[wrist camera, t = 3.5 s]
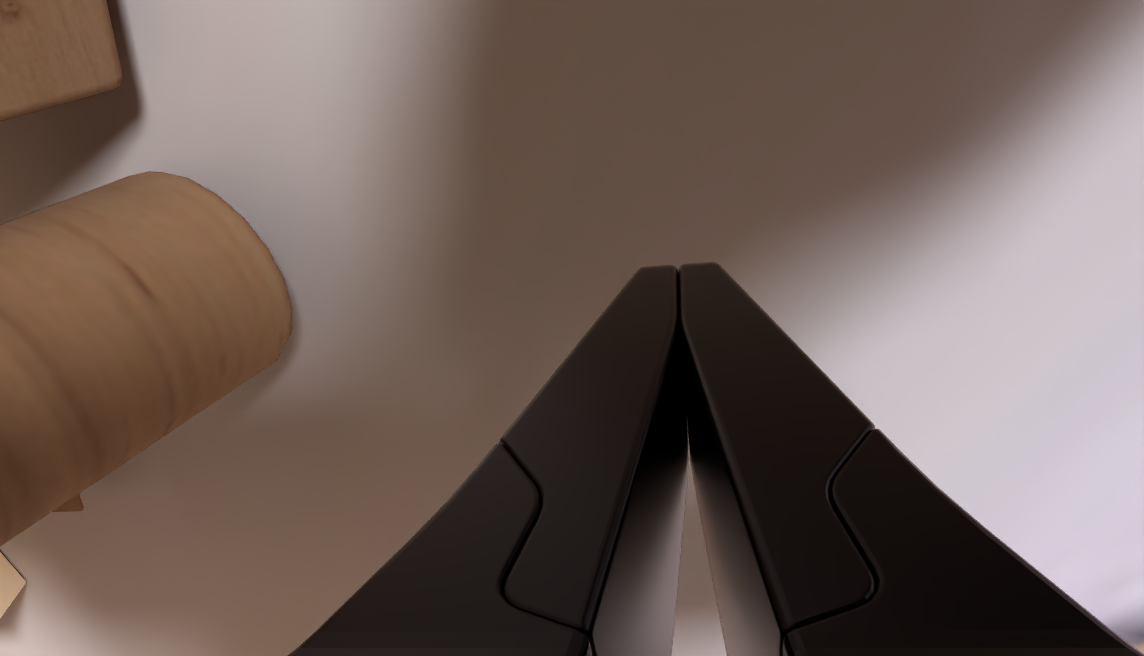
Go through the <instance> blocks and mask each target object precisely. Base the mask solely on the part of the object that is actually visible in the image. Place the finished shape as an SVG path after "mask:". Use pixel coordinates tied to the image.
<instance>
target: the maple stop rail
mask: <svg viewBox="0 0 1144 656" xmlns="http://www.w3.org/2000/svg"><path fill="white" fill-rule="evenodd" d="M25 584H26V581H25V580H24V579H23V578H22V577H21V575H20V574H19V573H18V572H17V571H16V570H15V568H14V567H13V566H12V565H11V564H10V563H9V561H8V560H7V559H6V558H5V557H4V556H3V554H2V553H1V552H0V618H1V617H2V615H3V614H4V613H5V611H6V610H7V609H8V607H9V606H10V604H11V603H12V602H13V600H14V599H15V598H16V596H17V595H18V593H19V592H20V591H21V589H22V588H23V586H24V585H25Z"/></svg>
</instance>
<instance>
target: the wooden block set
mask: <svg viewBox="0 0 1144 656" xmlns="http://www.w3.org/2000/svg"><path fill="white" fill-rule="evenodd" d="M121 80H122V70H121V66H120V61H119V57H118V52H117V47H116V43H115V38H114V34H113V29H112V24H111V20H110V15H109V11H108V6H107V1H106V0H0V121H4V120H7V119H11V118H14V117H18V116H22V115H25V114H29V113H32V112H36V111H39V110H43V109H46V108H50V107H53V106H57V105H61V104H64V103H68V102H71V101H75V100H78V99H82V98H85V97H89V96H93V95H96V94H100V93H103V92H107V91H110V90H114V89H115V88H117V87H118V86H119V85H121ZM291 321H292V307H291V303H290V299H289V296H288V292H287V288H286V284H285V280H284V278H283V276H282V274H281V272H280V270H279V269H278V267H277V265H276V263H275V261H274V259H273V257H272V255H271V253H270V251H269V249H268V248H267V246H266V245H265V244H264V243H263V241H262V240H261V239H260V238H259V236H258V235H257V234H256V232H255V231H254V230H253V229H252V227H251V226H250V225H249V223H248V222H247V221H246V220H245V218H243V217H242V216H241V215H240V214H239V213H238V212H237V211H235V210H234V209H233V208H232V207H231V206H230V205H229V204H228V203H226V202H225V201H224V200H223V199H222V198H221V197H220V196H218V195H217V194H216V193H214V192H212V191H210V190H209V189H207V188H205V187H203V186H201V185H200V184H198V183H196V182H194V181H192V180H191V179H189V178H185V177H181V176H176V175H172V174H167V173H163V172H150V171H149V172H145V173H140V174H136V175H132V176H128V177H125V178H122V179H120V180H117V181H114V182H112V183H109V184H107V185H104V186H101V187H99V188H96V189H93V190H91V191H88V192H85V193H83V194H80V195H77V196H75V197H72V198H70V199H67V200H64V201H62V202H59V203H56V204H54V205H51V206H48V207H46V208H43V209H40V210H38V211H35V212H33V213H30V214H27V215H25V216H22V217H19V218H17V219H14V220H11V221H9V222H6V223H4V224H1V225H0V546H1V545H3V544H4V543H6V542H7V541H9V540H10V539H12V538H13V537H15V536H16V535H18V534H19V533H21V532H22V531H23V530H25V529H26V528H28V527H29V526H31V525H32V524H34V523H35V522H37V521H38V520H40V519H41V518H43V517H44V516H46V515H47V514H49V513H50V512H64V511H81V510H83V508H84V507H83V504H82V501H81V498H80V495H79V493H80V492H81V491H83V490H84V489H86V488H87V487H89V486H90V485H92V484H93V483H95V482H96V481H98V480H99V479H101V478H102V477H104V476H105V475H107V474H108V473H110V472H111V471H113V470H114V469H115V468H117V467H118V466H120V465H121V464H123V463H124V462H126V461H127V460H129V459H130V458H132V457H133V456H135V455H136V454H138V453H139V452H141V451H142V450H144V449H145V448H147V447H148V446H150V445H151V444H153V443H154V442H156V441H157V440H158V439H160V438H161V437H163V436H164V435H166V434H167V433H169V432H170V431H172V430H173V429H175V428H176V427H178V426H179V425H181V424H182V423H184V422H185V421H187V420H188V419H190V418H191V417H193V416H194V415H196V414H197V413H199V412H200V411H202V410H203V409H204V408H206V407H207V406H209V405H210V404H212V403H213V402H215V401H216V400H218V399H219V398H221V397H222V396H224V395H225V394H227V393H228V392H230V391H231V390H233V389H234V388H236V387H237V386H239V385H240V384H242V383H243V382H245V381H246V380H248V379H249V378H250V377H252V376H253V375H255V374H256V373H258V372H259V371H261V370H262V369H264V368H265V367H267V366H268V365H270V364H271V363H273V362H274V361H276V359H277V358H278V356H279V354H280V352H281V351H282V349H283V347H284V345H285V343H286V341H287V340H288V338H289V336H290V334H291Z"/></svg>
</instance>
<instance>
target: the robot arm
mask: <svg viewBox="0 0 1144 656" xmlns="http://www.w3.org/2000/svg"><path fill="white" fill-rule="evenodd" d="M687 424H688V425H687ZM688 437H689V449H690V461H691V467H692V474H693V480H694V485H695V490H696V496H697V501H698V506H699V511H700V517H701V522H702V527H703V532H704V538H705V543H706V548H707V553H708V559H709V564H710V569H711V574H712V580H713V585H714V590H715V595H716V601H717V606H718V611H719V616H720V622H721V627H722V632H723V637H724V643H725V648H726V653H727V656H1144V654H1143V653H1142V652H1140V651H1139V650H1137V649H1136V648H1134V647H1133V646H1132V645H1130V644H1129V643H1128V642H1127V641H1125V640H1124V639H1123V638H1121V637H1120V636H1119V635H1117V634H1116V633H1115V632H1113V631H1112V630H1111V629H1109V628H1108V627H1107V626H1106V625H1104V624H1103V623H1102V622H1101V621H1100V620H1098V619H1097V618H1096V617H1095V616H1093V615H1092V614H1091V613H1090V612H1088V611H1087V610H1086V609H1085V608H1083V607H1082V606H1081V605H1080V604H1079V603H1077V602H1076V601H1075V600H1074V599H1072V598H1071V597H1070V596H1069V595H1067V594H1066V593H1065V592H1064V591H1063V590H1061V589H1060V588H1059V587H1058V586H1056V585H1055V584H1054V583H1053V582H1051V581H1050V580H1049V579H1048V578H1047V577H1045V576H1044V575H1043V574H1042V573H1040V572H1039V571H1038V570H1037V569H1035V568H1034V567H1033V566H1032V565H1030V564H1029V563H1028V562H1027V561H1026V560H1024V559H1023V558H1022V557H1021V556H1019V555H1018V554H1017V553H1016V552H1014V551H1013V550H1012V549H1011V548H1010V547H1008V546H1007V545H1006V544H1005V543H1003V542H1002V541H1001V540H1000V539H998V538H997V537H996V536H995V535H994V534H992V533H991V532H990V531H989V530H987V529H986V528H985V527H984V526H983V525H981V524H980V523H979V522H978V521H977V520H976V519H974V518H973V517H972V516H971V515H970V514H969V513H967V512H966V511H965V510H964V509H963V508H962V507H960V506H959V505H958V504H957V503H956V502H954V501H953V500H952V499H951V498H950V497H949V496H947V495H946V494H945V493H944V492H943V491H942V490H940V489H939V488H938V487H937V486H936V485H935V484H934V483H933V482H932V481H931V480H930V479H929V478H928V477H927V476H926V475H925V474H924V473H923V472H922V471H920V470H919V469H918V468H917V467H916V466H915V465H914V464H913V463H912V462H911V461H910V460H909V459H908V458H907V457H906V456H905V455H904V454H903V453H902V452H901V451H900V450H899V449H898V448H897V447H896V446H895V445H894V444H893V443H892V442H891V441H890V440H889V439H888V438H887V437H886V436H885V435H884V434H883V433H882V431H880V430H879V429H875V425H874V424H873V423H872V422H871V421H870V420H869V419H868V418H867V417H866V415H865V414H864V413H863V412H862V411H861V410H860V409H859V408H858V407H857V406H856V405H855V404H854V403H853V402H852V401H851V400H850V399H849V398H848V397H847V396H846V395H845V394H844V393H843V392H842V391H841V390H840V389H839V388H838V387H837V386H836V385H835V384H834V383H833V381H832V380H831V379H830V378H829V377H828V376H827V375H826V374H825V373H824V372H823V371H822V370H821V369H820V368H819V367H818V366H817V365H816V364H815V363H814V362H813V361H812V360H811V359H810V358H809V357H808V356H807V355H806V354H805V353H804V352H803V351H802V350H801V349H800V348H799V346H798V345H797V344H796V343H795V342H794V341H793V340H792V339H791V338H790V337H789V336H788V335H787V334H786V333H785V332H784V331H783V330H782V329H781V328H780V327H779V326H778V325H777V324H776V323H775V322H774V321H773V320H772V319H771V318H770V317H769V316H768V315H767V314H766V312H765V311H764V310H763V309H762V308H761V307H760V306H759V305H758V304H757V303H756V302H755V301H754V300H753V299H752V298H751V297H750V296H749V295H748V294H747V293H746V292H745V291H744V290H743V289H742V288H741V287H740V286H739V285H738V284H737V283H736V282H735V281H734V280H733V278H732V277H731V276H730V275H729V274H728V273H727V272H726V271H725V270H724V269H723V268H722V267H721V266H720V265H719V264H717V263H715V262H708V263H694V264H684V265H682V266H681V267H680V269H679V274H678V269H677V268H676V267H675V266H672V265H666V266H652V267H642V268H640V269H639V270H638V271H637V272H636V273H635V274H634V276H633V277H632V278H631V279H630V280H629V282H628V283H627V284H626V285H625V287H624V288H623V289H622V290H621V291H620V293H619V294H618V295H617V296H616V298H615V299H614V300H613V301H612V303H611V304H610V305H609V306H608V307H607V309H606V310H605V311H604V312H603V314H602V315H601V316H600V317H599V319H598V320H597V321H596V322H595V323H594V325H593V326H592V327H591V328H590V330H589V331H588V332H587V333H586V334H585V336H584V337H583V338H582V339H581V341H580V342H579V343H578V344H577V346H576V347H575V348H574V349H573V350H572V352H571V353H570V354H569V355H568V357H567V358H566V359H565V360H564V362H563V363H562V364H561V365H560V366H559V368H558V369H557V370H556V371H555V373H554V374H553V375H552V376H551V377H550V379H549V380H548V381H547V382H546V384H545V385H544V386H543V387H542V389H541V390H540V391H539V392H538V393H537V395H536V396H535V397H534V398H533V400H532V401H531V402H530V403H529V405H528V406H527V407H526V408H525V409H524V411H523V412H522V413H521V414H520V416H519V417H518V418H517V419H516V421H515V422H514V423H513V424H512V425H511V427H510V428H509V429H508V430H507V432H506V433H505V434H504V435H503V436H502V438H501V439H500V444H496V445H495V446H494V447H493V448H492V450H491V451H490V452H489V453H488V454H487V456H486V457H485V458H484V459H483V461H482V462H481V463H480V464H479V465H478V467H477V468H476V469H475V470H474V471H473V472H472V474H471V475H470V476H469V477H468V478H467V479H466V481H465V482H464V483H463V484H462V485H461V486H460V487H459V489H458V490H457V491H456V492H455V493H454V494H453V495H452V497H451V498H450V499H449V500H448V501H447V502H446V503H445V504H444V505H443V506H442V507H441V508H440V509H439V510H438V512H437V513H436V514H435V515H434V516H433V517H432V518H431V519H430V520H429V521H428V522H427V523H426V524H425V525H424V526H423V527H422V528H421V529H420V530H419V531H418V532H417V533H416V534H415V535H414V536H413V537H412V538H411V539H410V540H409V541H408V542H407V543H406V544H405V545H404V546H403V547H402V548H401V549H400V550H399V551H398V552H397V553H396V554H395V555H394V556H393V557H392V558H391V559H390V560H389V561H388V562H387V563H386V564H385V565H383V566H382V567H381V568H380V569H379V570H378V571H377V572H376V573H375V574H374V575H373V576H372V577H371V578H370V579H369V580H368V581H367V582H366V583H365V584H364V585H363V586H362V587H361V588H360V589H359V590H358V591H357V592H356V593H355V594H354V595H353V596H352V597H351V598H350V599H349V600H348V601H346V602H345V603H344V604H343V605H342V606H341V607H340V608H339V609H338V610H337V611H336V612H335V613H334V614H333V615H332V616H331V617H330V618H329V619H328V620H327V621H326V622H325V623H324V624H323V625H322V626H321V627H320V628H319V629H318V630H317V631H316V632H315V633H313V634H312V635H311V636H310V637H309V638H308V639H307V640H306V641H305V642H303V643H302V644H301V645H300V646H299V647H298V648H297V649H296V650H294V651H293V652H292V653H290V654H289V655H288V656H671V654H672V643H673V632H674V621H675V610H676V599H677V588H678V577H679V566H680V556H681V545H682V534H683V523H684V512H685V501H686V490H687V478H688V461H689V458H688Z"/></svg>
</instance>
